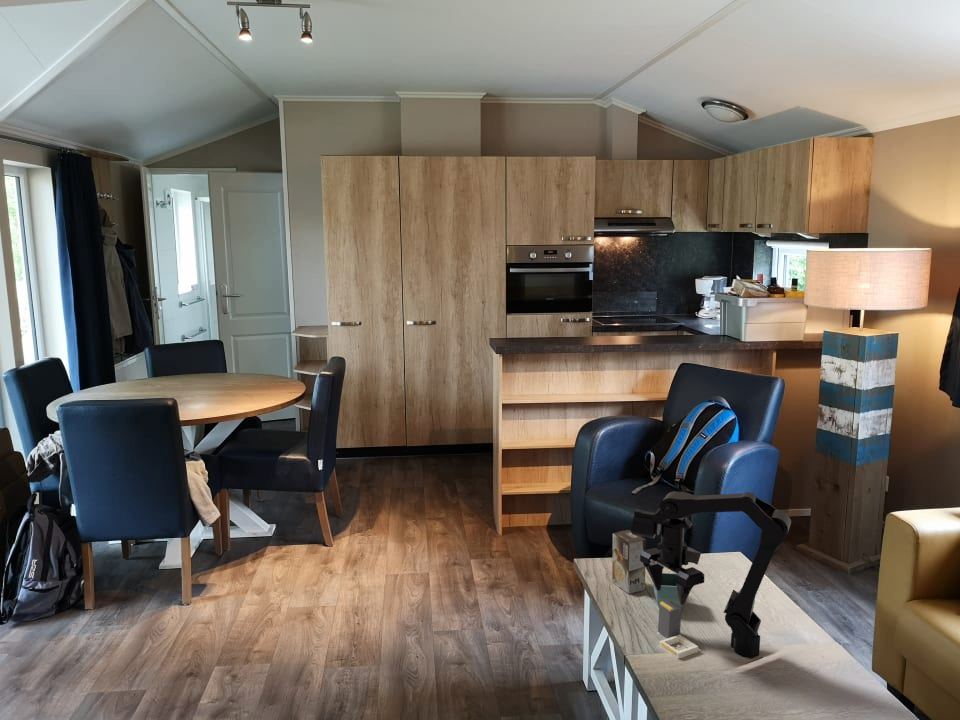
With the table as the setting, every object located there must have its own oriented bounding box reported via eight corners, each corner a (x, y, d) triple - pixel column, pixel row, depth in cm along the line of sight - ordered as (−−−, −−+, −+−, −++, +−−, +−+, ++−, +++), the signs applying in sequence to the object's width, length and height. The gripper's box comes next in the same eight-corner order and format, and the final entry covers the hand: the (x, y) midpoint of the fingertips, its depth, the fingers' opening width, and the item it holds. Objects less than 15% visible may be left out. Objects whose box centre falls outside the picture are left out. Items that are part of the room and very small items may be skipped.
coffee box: (646, 590, 230) (647, 539, 227) (628, 594, 227) (629, 543, 225) (627, 578, 238) (629, 529, 235) (610, 582, 235) (611, 532, 233)
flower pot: (682, 602, 222) (683, 573, 221) (687, 617, 214) (688, 587, 212) (651, 601, 223) (652, 572, 222) (655, 615, 214) (656, 585, 213)
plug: (679, 635, 202) (681, 605, 200) (668, 639, 200) (670, 609, 198) (668, 627, 205) (670, 598, 204) (657, 631, 204) (659, 601, 202)
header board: (707, 652, 195) (707, 643, 195) (674, 664, 190) (675, 654, 190) (672, 630, 207) (672, 621, 206) (640, 640, 201) (640, 631, 201)
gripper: (721, 547, 194) (719, 604, 197) (671, 523, 210) (669, 577, 213) (688, 556, 189) (686, 615, 191) (639, 531, 205) (638, 585, 208)
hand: (670, 597), depth 201 cm, fingers open, 9 cm apart
